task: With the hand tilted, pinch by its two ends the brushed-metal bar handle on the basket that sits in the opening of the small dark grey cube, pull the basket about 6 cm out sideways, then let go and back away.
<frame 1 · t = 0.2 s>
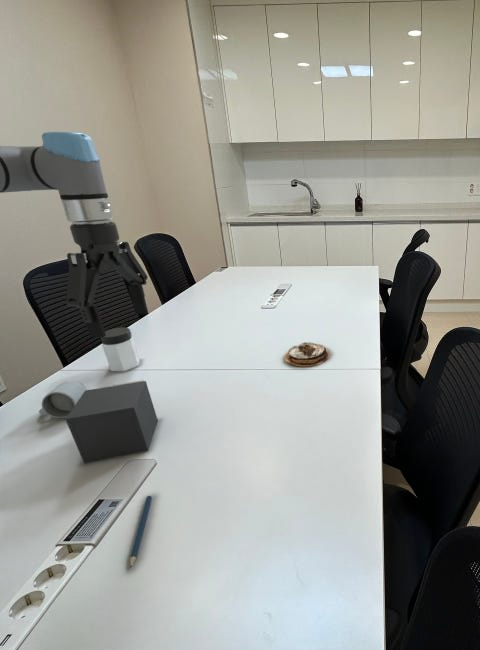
hand: (121, 324, 83), 28 cm above the table, tool pointing down, fingers open, 13 cm apart
jar: (126, 366, 127), on the table
basket: (122, 407, 94), point 6 cm above the table, slide at 0.5 cm
dark grey cube: (123, 440, 92), on the table
pencil: (141, 531, 69), on the table
ceramic mug: (65, 411, 104), on the table
layered cake: (307, 356, 130), on the table
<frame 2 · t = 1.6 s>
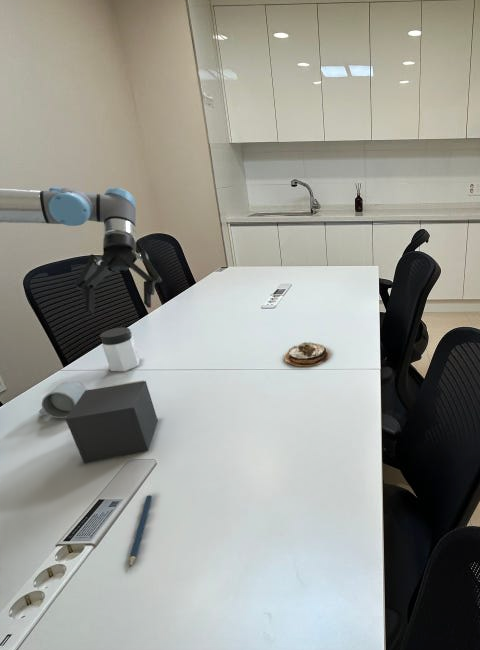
hand: (119, 308, 101), 26 cm above the table, tool tilted 45°, fingers open, 13 cm apart
nothing on the table moved.
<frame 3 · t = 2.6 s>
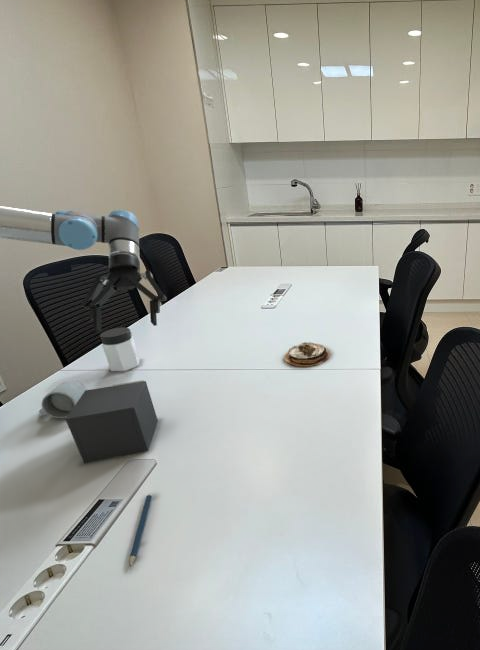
hand: (126, 327, 104), 20 cm above the table, tool tilted 45°, fingers open, 13 cm apart
nothing on the table moved.
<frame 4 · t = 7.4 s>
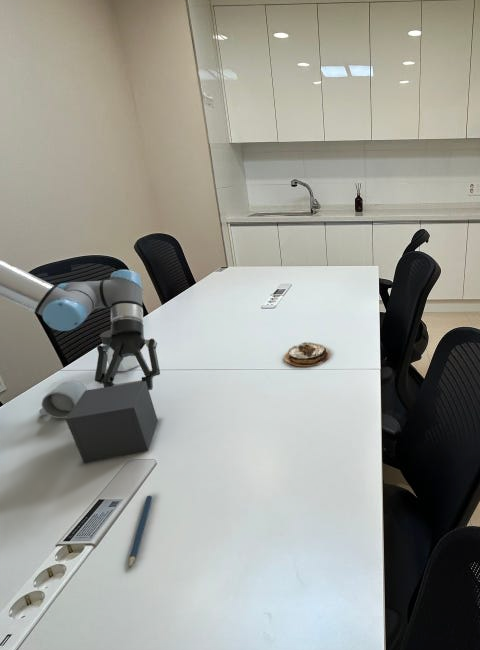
hand: (129, 405, 98), 4 cm above the table, tool tilted 45°, fingers closed on basket, 7 cm apart
basket: (122, 407, 94), point 6 cm above the table, slide at 0.5 cm, touching gripper
everything else where it was.
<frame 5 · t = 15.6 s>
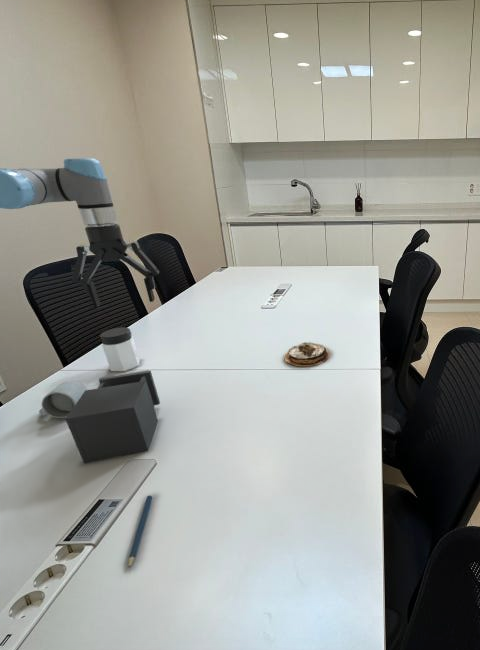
hand: (125, 303, 107), 25 cm above the table, tool pointing down, fingers open, 13 cm apart
basket: (129, 394, 99), point 6 cm above the table, slide at 6.4 cm
everything else where it was.
at the end: basket slide at 6.4 cm; the gripper is holding nothing; ceramic mug moved 0.2 cm from its start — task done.
